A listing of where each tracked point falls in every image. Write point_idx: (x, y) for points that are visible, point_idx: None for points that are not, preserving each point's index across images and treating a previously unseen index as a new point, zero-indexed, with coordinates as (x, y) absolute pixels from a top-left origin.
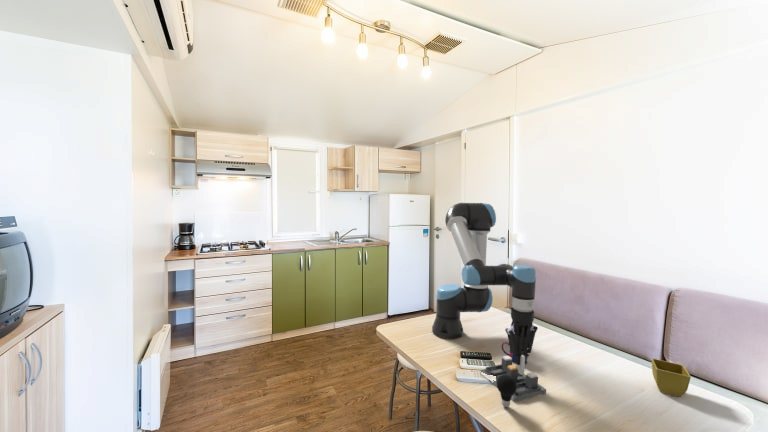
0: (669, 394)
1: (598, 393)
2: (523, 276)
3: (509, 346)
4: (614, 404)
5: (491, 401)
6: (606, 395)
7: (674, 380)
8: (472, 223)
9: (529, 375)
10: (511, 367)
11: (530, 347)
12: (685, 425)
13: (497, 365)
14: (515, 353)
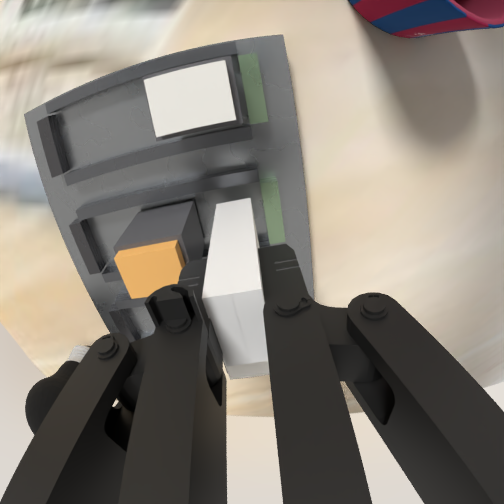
0: None
1: (481, 311)
2: None
3: (50, 412)
4: (460, 352)
5: (48, 317)
6: (486, 319)
7: None
8: None
9: (227, 368)
10: (139, 283)
11: (388, 419)
12: (483, 387)
13: (136, 70)
14: (130, 413)
